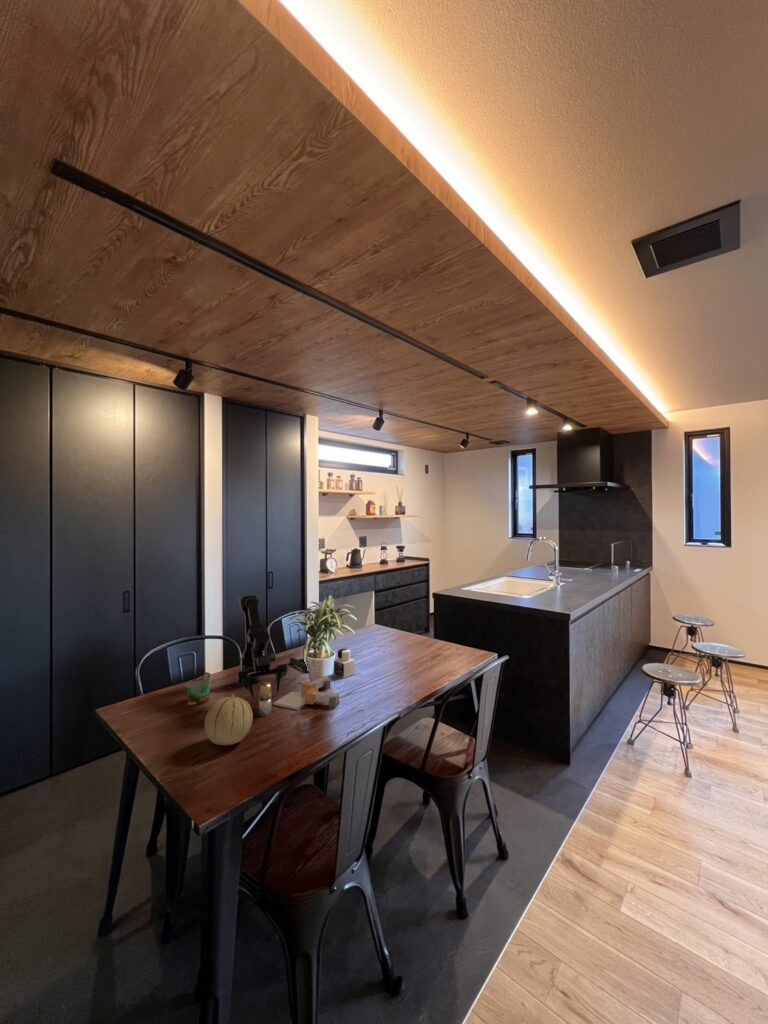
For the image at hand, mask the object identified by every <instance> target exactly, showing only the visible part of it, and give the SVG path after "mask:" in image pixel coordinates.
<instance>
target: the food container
mask: <svg viewBox="0 0 768 1024" xmlns="http://www.w3.org/2000/svg"><path fill="white" fill-rule="evenodd" d="M212 681H213V676H212V674H211V673H210V672H207V671H205V672H204V674H202V675H201V676H198V677H196V678H194V679H193V680H192V681H186V684H185V688H186V693H187V705H188V707H197V706H201V705H205V704H207V703H208V702H209V701H210V692H211V691H210V689H211V682H212Z"/></svg>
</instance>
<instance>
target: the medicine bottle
mask: <svg viewBox="0 0 768 1024" xmlns="http://www.w3.org/2000/svg"><path fill="white" fill-rule="evenodd" d="M334 660H335V661H334ZM334 660H333V676H335V675H336V676H335V677H338V676H339V677H338V678H341V679H346V677H347V678H349V677H352V676H354V675H355V673H356V672H355V659H353V658H351V649H350V648H341V649H338V650H337V659H334ZM353 674H354V675H353ZM351 675H352V676H351ZM348 676H349V677H348Z"/></svg>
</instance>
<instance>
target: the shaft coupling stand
mask: <svg viewBox="0 0 768 1024" xmlns="http://www.w3.org/2000/svg"><path fill="white" fill-rule="evenodd" d="M319 689H320V690H325V691H327V690H329V689H331V680H329V676H322V677H319V678H318V679H316V680H313V681H308V680H305V681H302V682H301V683H300V692H296V691H291V692H289V693H287V694H285V695H284V696H282V697H280V698H279V699H277V700H276V701H274V702H273V703H272V704H273V706H274V707H275V706H276V707H280V708H284V709H289V710H293V711H294V710H295V711H299V710H301V709H302V708H304V707H306V706H307V705H314V704H315V703H316V702H319V703H321V702H322V703H328V709H331V710H335V709H336V708H337V707H338V705H340V694H339V693H332V692H323V691H321V692H320V691H319Z"/></svg>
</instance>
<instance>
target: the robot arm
mask: <svg viewBox="0 0 768 1024" xmlns="http://www.w3.org/2000/svg"><path fill="white" fill-rule="evenodd" d="M238 603H239V607H240V611H241V612H242V614H243V615H244V634H245V635H244V636H245V648H244V650H243V652H242V656H241V657H240V658H241V659H240V663H239V667H240V668H239V669H240V670H239V671H238V672H237V674H236V675H237V676H236V685H240V686H241V687H244V688H245V689H246V690H247V691H248V693H249V694H250V697H251V698H254V689H253V685H255V684H256V683H258V682H261V681H262V680H261V679H260V678H259V677H265V676H271V675H275V691H276V693H279V692H280V691H279V690H280V682H281V680H282V679H283V678H284V677H285V676H287V673H288V669H289V668H288V664H286V663H280V664H276V666H275V668H271V664H272V663H275V662H276V655H275V654H276V653H275V652H271V653H269V654H268V651H267V649H268V646H269V641H270V638H271V637H270V634H269V633H268V632H267V630H266V628H265V625H264V624H262V623H261V619H260V613H259V607H258V606H260V597H259V596H256V594H249V595H241V598H239V599H238Z"/></svg>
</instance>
